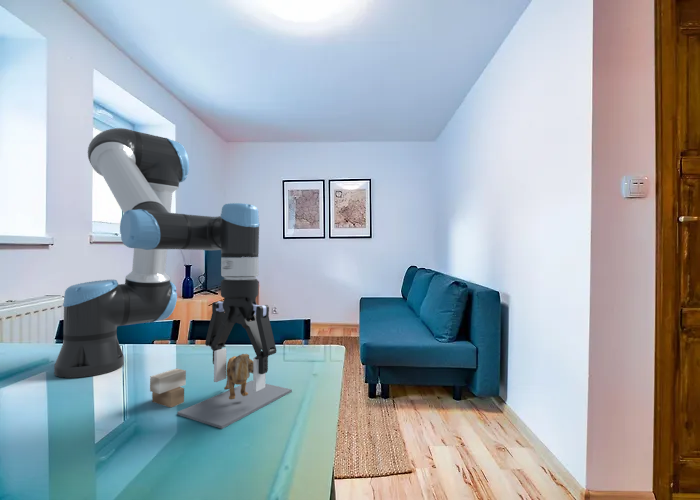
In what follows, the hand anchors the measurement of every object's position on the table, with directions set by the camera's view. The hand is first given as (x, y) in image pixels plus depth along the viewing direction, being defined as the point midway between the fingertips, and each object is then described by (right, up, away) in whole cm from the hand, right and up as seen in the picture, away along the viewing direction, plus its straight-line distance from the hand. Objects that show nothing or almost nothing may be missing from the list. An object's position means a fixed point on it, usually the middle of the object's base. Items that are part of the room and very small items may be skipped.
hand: (239, 384), depth 76 cm
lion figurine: (0, -2, +1) cm, 3 cm away
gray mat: (0, -4, 0) cm, 4 cm away
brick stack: (-15, -4, 0) cm, 15 cm away
